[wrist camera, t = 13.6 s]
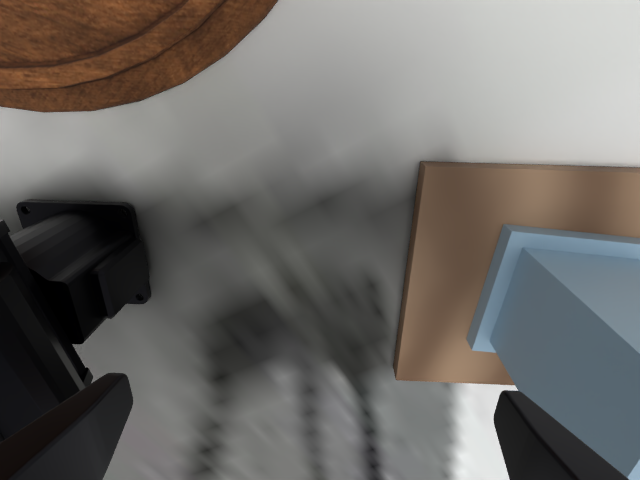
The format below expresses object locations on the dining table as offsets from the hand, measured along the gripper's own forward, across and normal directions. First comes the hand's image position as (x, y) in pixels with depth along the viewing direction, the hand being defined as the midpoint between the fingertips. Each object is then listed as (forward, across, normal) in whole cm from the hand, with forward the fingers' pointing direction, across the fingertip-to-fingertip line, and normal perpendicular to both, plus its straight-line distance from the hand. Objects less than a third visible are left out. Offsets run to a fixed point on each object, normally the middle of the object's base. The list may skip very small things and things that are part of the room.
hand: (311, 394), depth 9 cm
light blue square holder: (+12, -13, +4) cm, 18 cm away
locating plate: (+13, -13, +4) cm, 19 cm away
